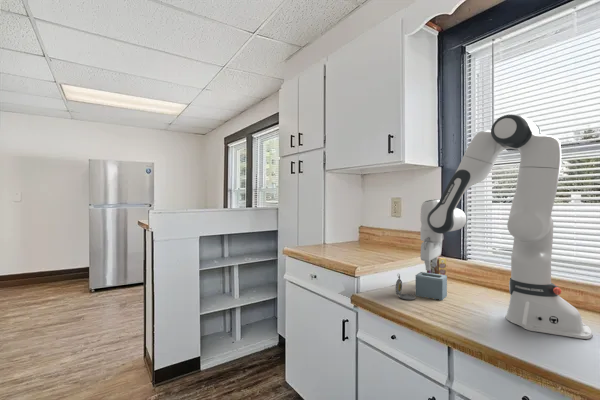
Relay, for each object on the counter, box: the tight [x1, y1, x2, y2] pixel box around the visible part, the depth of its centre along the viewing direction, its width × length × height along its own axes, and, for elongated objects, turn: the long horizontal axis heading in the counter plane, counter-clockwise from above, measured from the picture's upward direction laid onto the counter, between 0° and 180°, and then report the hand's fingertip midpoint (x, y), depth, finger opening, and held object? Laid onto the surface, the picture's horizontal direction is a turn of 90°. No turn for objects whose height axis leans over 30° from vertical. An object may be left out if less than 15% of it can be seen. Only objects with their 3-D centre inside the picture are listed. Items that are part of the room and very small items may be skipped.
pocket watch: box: [395, 273, 416, 301], centre depth 133 cm, size 8×8×10 cm
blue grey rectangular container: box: [415, 271, 448, 301], centre depth 135 cm, size 11×8×9 cm
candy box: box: [426, 256, 447, 275], centre depth 146 cm, size 9×4×15 cm, turn 13°
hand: (431, 268), depth 135 cm, fingers open, 8 cm apart
